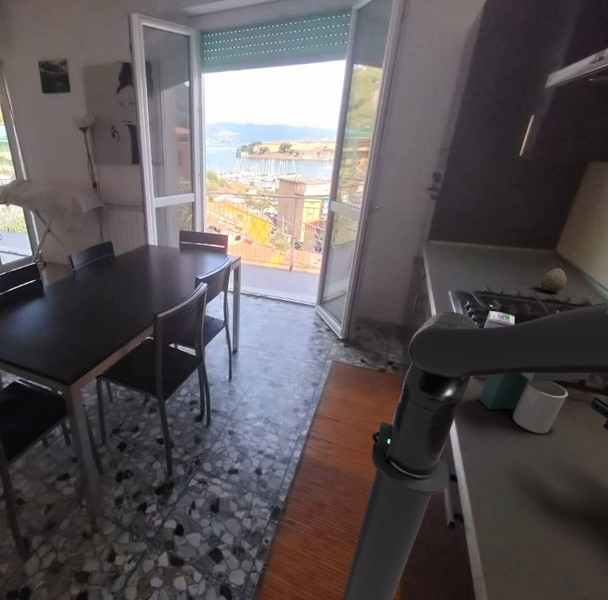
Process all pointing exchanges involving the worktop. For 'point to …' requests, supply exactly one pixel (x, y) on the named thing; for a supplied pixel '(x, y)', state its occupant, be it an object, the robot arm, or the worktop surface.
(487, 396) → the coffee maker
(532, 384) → the cup
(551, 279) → the decorative egg
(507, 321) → the syrup box
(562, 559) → the worktop surface
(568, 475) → the worktop surface
